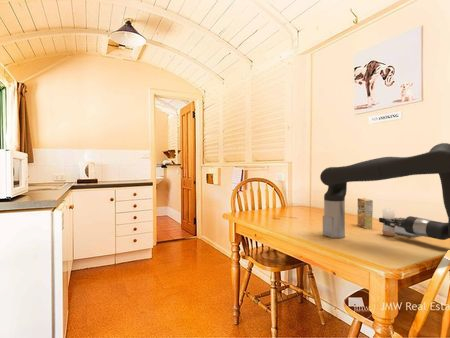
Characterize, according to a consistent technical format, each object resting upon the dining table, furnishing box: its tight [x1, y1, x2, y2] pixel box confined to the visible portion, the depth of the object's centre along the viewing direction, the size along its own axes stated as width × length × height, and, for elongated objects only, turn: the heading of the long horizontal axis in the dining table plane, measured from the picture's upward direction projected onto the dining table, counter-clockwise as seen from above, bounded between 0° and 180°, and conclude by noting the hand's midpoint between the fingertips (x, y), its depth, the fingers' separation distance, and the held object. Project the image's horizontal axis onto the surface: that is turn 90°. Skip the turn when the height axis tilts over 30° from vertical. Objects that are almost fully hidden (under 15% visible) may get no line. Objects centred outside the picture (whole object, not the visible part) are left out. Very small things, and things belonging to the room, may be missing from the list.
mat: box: [395, 227, 420, 239], centre depth 132 cm, size 16×14×1 cm
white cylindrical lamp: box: [382, 208, 396, 237], centre depth 128 cm, size 5×5×12 cm
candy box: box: [356, 197, 374, 230], centre depth 145 cm, size 9×4×15 cm, turn 0°
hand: (383, 219), depth 130 cm, fingers closed on white cylindrical lamp, 5 cm apart
